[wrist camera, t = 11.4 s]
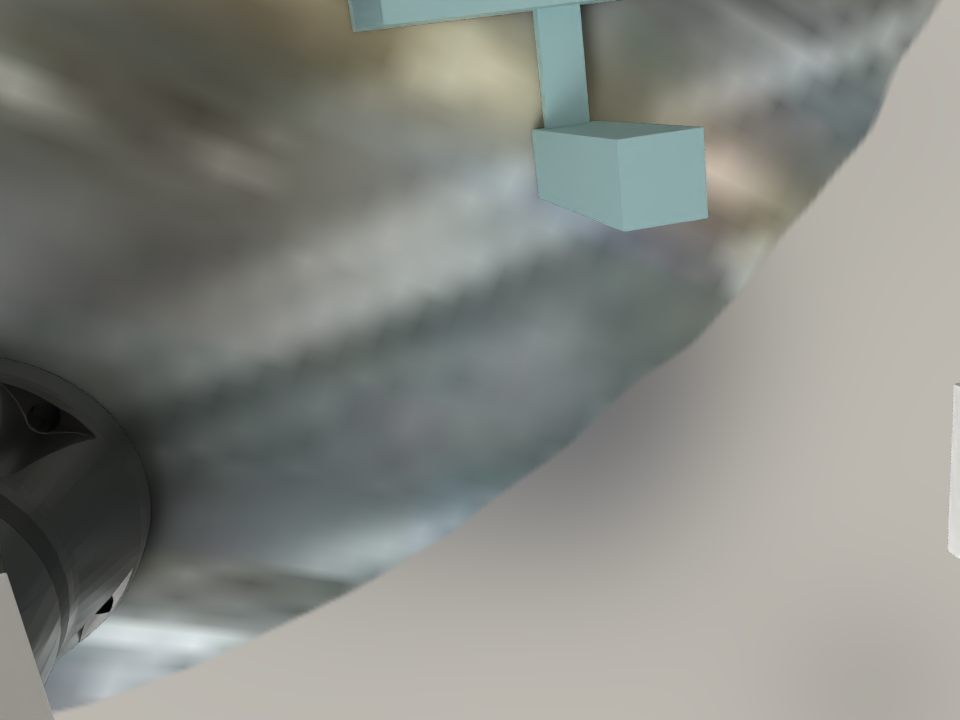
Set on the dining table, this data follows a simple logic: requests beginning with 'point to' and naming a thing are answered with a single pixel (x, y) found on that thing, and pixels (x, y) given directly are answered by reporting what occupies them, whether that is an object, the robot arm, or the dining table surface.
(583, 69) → the sled
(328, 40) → the dining table surface
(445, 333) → the dining table surface
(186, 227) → the dining table surface
